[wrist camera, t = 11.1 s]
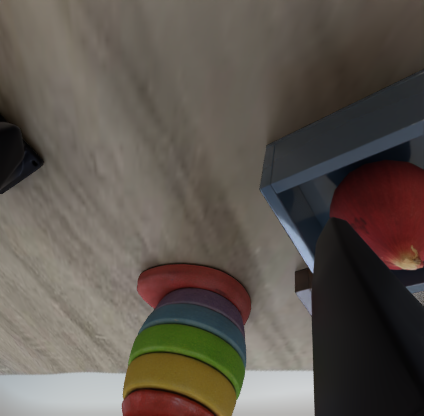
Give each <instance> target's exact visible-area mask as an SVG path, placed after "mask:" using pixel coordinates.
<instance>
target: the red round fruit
mask: <svg viewBox="0 0 424 416" xmlns="http://www.w3.org/2000/svg"><path fill="white" fill-rule="evenodd" d="M329 215H330V218H331V217H336V218H339V219H343V220H346V221H347V222H348V223H349V224H350V225H351V226H352V228H353V229H354V230H355V231H356V232H357V233H358V234H359V235H360V237H361V238H362V239H363V240H364V241H365V242H366V243H367V244H368V245H369V247H370V248H371V249H372V250H373V251H374V252H375V253H376V254H377V256H378V257H379V258H380V259H381V260H382V261H383V262H384V263H385V264H386V266H387V267H388V268H389V269H394V270H401V269H405V270H416V269H418V268H423V266H424V263H423V261H424V169H422V168H420V167H418V166H416V165H414V164H412V163H409V162H404V161H394V160H382V161H377V162H373V163H368V164H364V165H362V166H361V167H359V168H357V169H355V170H353V171H352V172H350V173H349V174H348V175H347V176H346V177H345V178H344V179H343V181H342V182H341V183H340V184H339V185H338V187H337V188H336V189H335V191H334V194H333V198H332V201H331V205H330V213H329Z"/></svg>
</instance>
